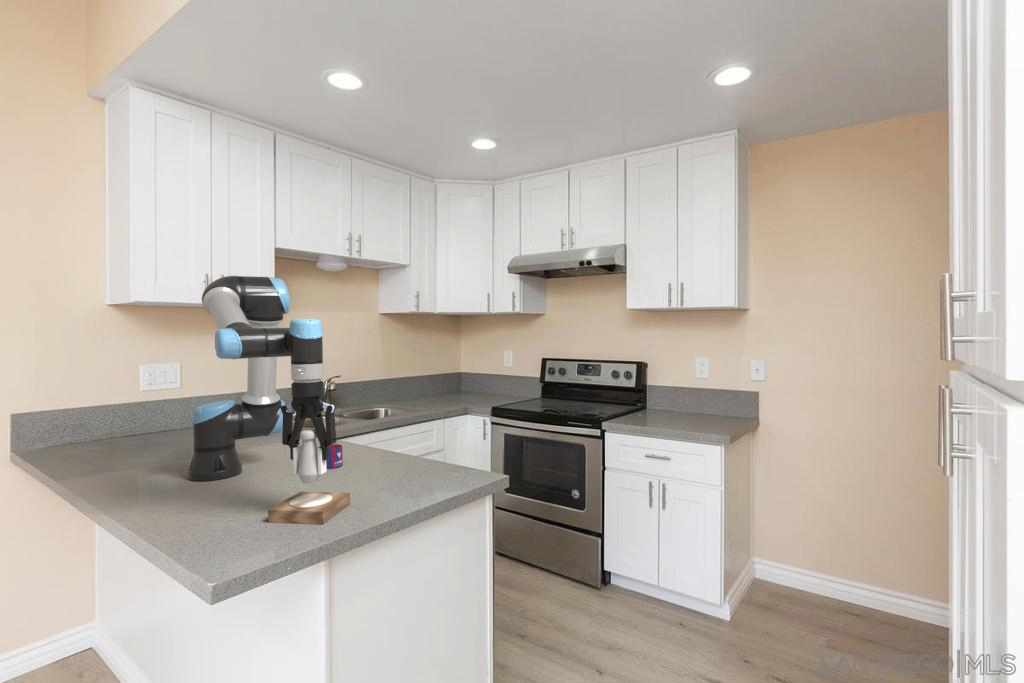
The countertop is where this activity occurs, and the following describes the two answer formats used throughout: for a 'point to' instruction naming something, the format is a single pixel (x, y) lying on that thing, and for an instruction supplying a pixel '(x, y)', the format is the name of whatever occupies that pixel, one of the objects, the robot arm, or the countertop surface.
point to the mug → (334, 457)
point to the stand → (309, 508)
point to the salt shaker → (308, 457)
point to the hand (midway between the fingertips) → (310, 472)
